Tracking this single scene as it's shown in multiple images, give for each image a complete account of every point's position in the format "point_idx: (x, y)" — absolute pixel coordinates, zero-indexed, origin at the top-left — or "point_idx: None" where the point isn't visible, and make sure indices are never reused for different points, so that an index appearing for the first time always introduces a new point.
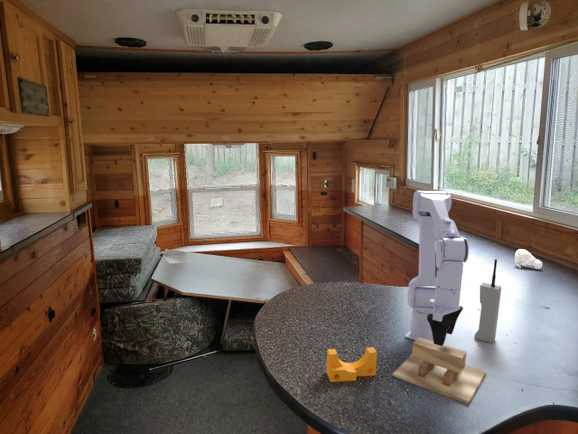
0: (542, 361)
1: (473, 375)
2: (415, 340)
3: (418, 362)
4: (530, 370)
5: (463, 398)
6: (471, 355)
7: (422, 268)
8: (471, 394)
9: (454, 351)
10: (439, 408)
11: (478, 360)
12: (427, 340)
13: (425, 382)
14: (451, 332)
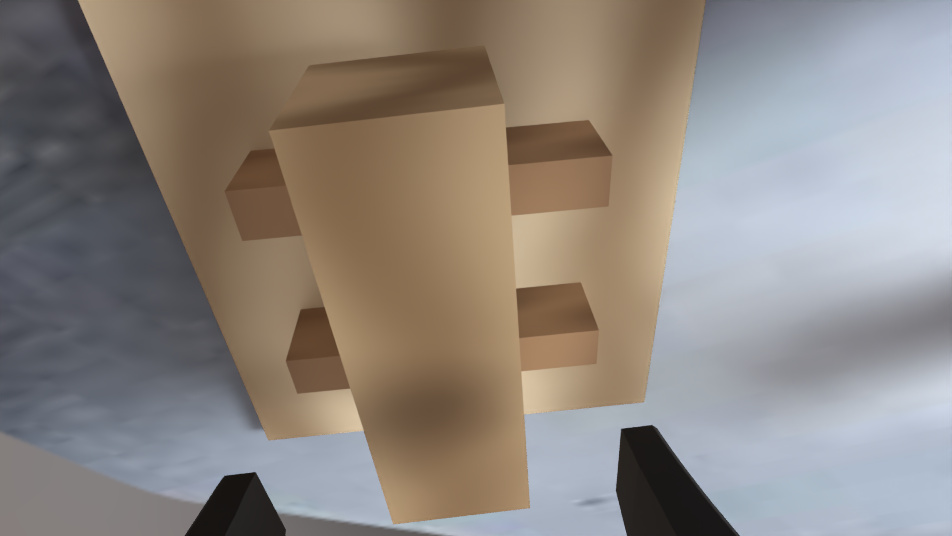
0: (925, 488)
1: (550, 378)
2: (373, 118)
3: None
4: (802, 482)
5: (269, 420)
6: (853, 269)
7: None
8: (343, 429)
9: (456, 465)
10: (97, 359)
11: (797, 317)
12: (496, 230)
13: (216, 230)
14: (625, 515)
